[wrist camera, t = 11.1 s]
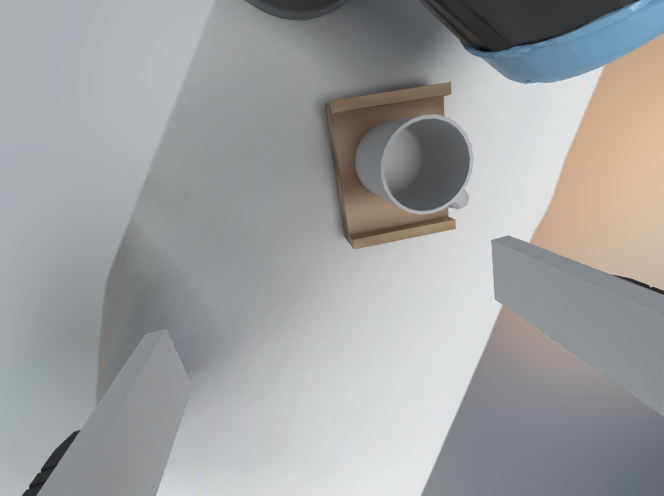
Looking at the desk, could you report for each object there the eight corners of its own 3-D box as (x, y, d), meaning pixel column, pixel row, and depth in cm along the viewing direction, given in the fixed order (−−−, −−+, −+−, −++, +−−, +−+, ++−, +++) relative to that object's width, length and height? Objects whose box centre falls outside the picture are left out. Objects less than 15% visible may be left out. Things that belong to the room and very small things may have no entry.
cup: (382, 105, 31) (422, 91, 23) (456, 166, 34) (515, 174, 26) (339, 170, 32) (361, 180, 24) (414, 224, 35) (457, 249, 27)
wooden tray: (325, 105, 33) (332, 100, 29) (429, 89, 34) (450, 82, 30) (344, 237, 38) (353, 249, 34) (436, 219, 39) (455, 228, 35)
